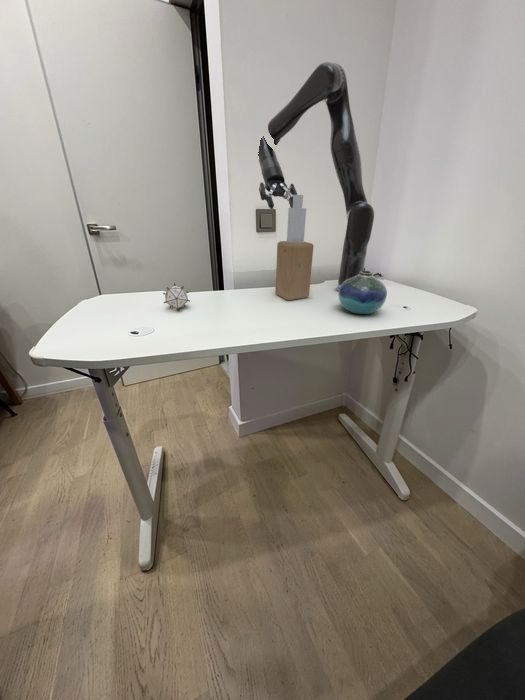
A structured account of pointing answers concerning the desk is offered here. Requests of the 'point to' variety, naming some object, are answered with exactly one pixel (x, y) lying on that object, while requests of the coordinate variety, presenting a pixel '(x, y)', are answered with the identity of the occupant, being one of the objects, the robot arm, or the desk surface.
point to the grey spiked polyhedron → (176, 297)
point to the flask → (296, 221)
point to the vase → (362, 293)
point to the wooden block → (293, 269)
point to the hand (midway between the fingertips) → (282, 207)
